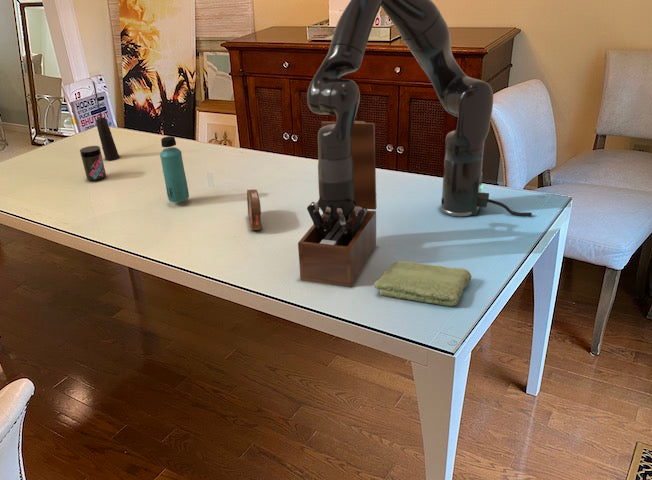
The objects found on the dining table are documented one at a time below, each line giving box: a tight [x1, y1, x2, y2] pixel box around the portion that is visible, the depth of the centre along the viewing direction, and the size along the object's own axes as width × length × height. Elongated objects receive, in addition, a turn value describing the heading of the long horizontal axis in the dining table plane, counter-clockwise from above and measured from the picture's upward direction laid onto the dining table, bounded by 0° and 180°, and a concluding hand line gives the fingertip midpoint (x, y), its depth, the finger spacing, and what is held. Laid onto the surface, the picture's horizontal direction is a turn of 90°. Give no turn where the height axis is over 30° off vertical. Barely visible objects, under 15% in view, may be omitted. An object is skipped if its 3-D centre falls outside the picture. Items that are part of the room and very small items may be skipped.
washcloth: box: [373, 260, 473, 307], centre depth 131 cm, size 13×18×3 cm
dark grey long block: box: [320, 218, 355, 246], centre depth 141 cm, size 15×3×5 cm, turn 155°
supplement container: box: [79, 145, 107, 183], centre depth 210 cm, size 7×7×10 cm
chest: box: [297, 209, 377, 288], centre depth 142 cm, size 20×12×9 cm, turn 155°
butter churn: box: [92, 81, 120, 162], centre depth 224 cm, size 9×10×28 cm
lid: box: [320, 120, 377, 211], centre depth 143 cm, size 21×12×5 cm
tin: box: [246, 189, 262, 231], centre depth 166 cm, size 15×3×8 cm, turn 5°
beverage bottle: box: [159, 135, 190, 203], centre depth 181 cm, size 6×7×20 cm
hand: (338, 246), depth 142 cm, fingers closed on dark grey long block, 3 cm apart
